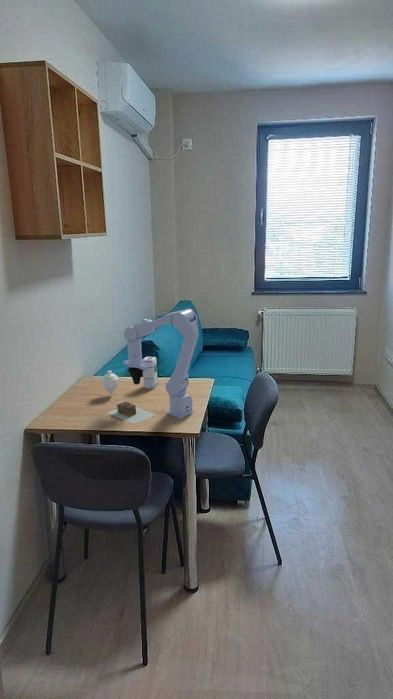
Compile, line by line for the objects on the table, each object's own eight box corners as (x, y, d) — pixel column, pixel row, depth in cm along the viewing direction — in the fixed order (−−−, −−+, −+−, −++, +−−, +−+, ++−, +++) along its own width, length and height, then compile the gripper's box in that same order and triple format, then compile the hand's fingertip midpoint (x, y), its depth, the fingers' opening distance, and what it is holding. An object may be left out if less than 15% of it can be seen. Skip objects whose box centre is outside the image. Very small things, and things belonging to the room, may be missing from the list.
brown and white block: (135, 405, 189) (123, 400, 194) (127, 408, 186) (116, 403, 192) (136, 414, 190) (124, 409, 196) (128, 417, 187) (116, 412, 193)
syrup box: (155, 388, 220) (153, 360, 217) (143, 388, 222) (141, 359, 218) (158, 384, 226) (156, 356, 222) (147, 384, 227) (145, 356, 223)
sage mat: (156, 415, 189) (156, 414, 189) (133, 425, 181) (133, 424, 181) (129, 405, 201) (129, 404, 201) (107, 413, 193) (106, 412, 193)
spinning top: (102, 393, 216) (100, 369, 212) (118, 391, 218) (116, 367, 215) (104, 399, 209) (102, 374, 205) (121, 397, 211) (119, 372, 208)
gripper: (116, 352, 195) (119, 382, 199) (138, 358, 185) (140, 390, 189) (129, 349, 200) (131, 378, 204) (151, 354, 190) (153, 385, 194)
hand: (136, 383), depth 197 cm, fingers closed
